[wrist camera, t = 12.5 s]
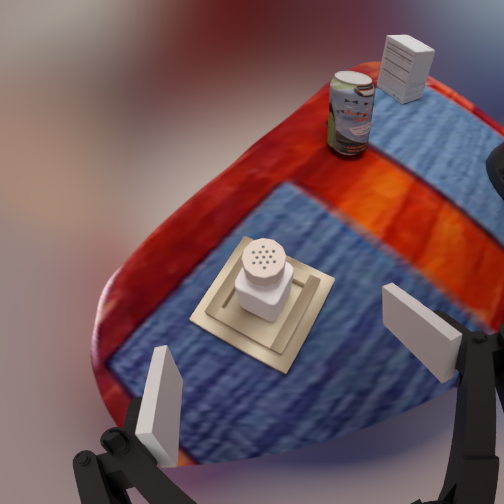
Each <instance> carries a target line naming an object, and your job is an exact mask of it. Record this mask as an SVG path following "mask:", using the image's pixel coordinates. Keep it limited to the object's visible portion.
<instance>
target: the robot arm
mask: <svg viewBox="0 0 504 504" xmlns="http://www.w3.org/2000/svg"><path fill="white" fill-rule="evenodd" d="M486 167H487V171H488V174H489V177H490V179H491V181H492V183H493V185H494V186H495V188H496V189H497V191H498V192H499V194H500V195H501V196H502V198H503V199H504V142H503V143H501V144H500V145H499V146H497V147H496V148H495V149H493V150H492V152H491V153H490V155H489V157H488V158H487V161H486ZM382 295H383V324H384V325H385V326H386V327H387V328H388V329H389V330H390V331H391V332H392V333H393V334H394V335H395V336H396V337H397V338H398V339H399V340H400V341H401V342H402V343H403V344H404V345H405V346H406V347H407V348H408V349H409V350H410V351H411V352H412V353H413V354H414V355H415V356H416V357H417V358H418V359H419V360H420V361H421V362H422V363H423V364H424V365H425V366H426V367H427V368H428V369H429V370H430V371H431V372H432V374H433V375H434V376H435V377H436V378H437V379H438V380H439V381H440V382H441V383H444V382H446V381H447V380H449V379H451V378H452V377H453V375H454V371H455V368H456V369H457V370H458V371H459V376H458V379H457V383H456V386H455V387H457V386H458V390H457V403H456V415H455V424H454V431H453V438H452V445H451V451H450V457H449V462H448V467H447V472H446V476H445V480H444V485H443V488H442V491H441V493H440V495H439V498H438V500H437V501H429V502H424V503H422V502H421V500H420V499H419V500H417V501H415V502H413V503H411V504H494V501H495V494H496V488H497V480H498V472H499V458H498V457H497V456H495V443H496V442H495V441H496V396H495V395H496V394H495V387H496V390H497V393H498V396H499V399H500V402H501V405H502V408H503V412H504V323H503V324H501V325H500V327H499V331H498V333H495V334H492V335H487V334H486V333H484V332H481V331H475V332H471V331H469V330H468V329H467V328H465V327H464V326H462V325H461V324H460V323H458V322H456V320H454V319H453V318H451V317H450V316H449V315H447V314H446V313H444V312H441V311H438V310H436V311H434V312H432V311H431V310H429V309H428V308H427V307H425V306H424V305H423V304H421V303H420V302H419V301H417V300H416V299H414V298H413V297H412V296H410V295H409V294H407V293H406V292H405V291H403V290H402V289H400V288H399V287H398V286H396V285H395V284H393V283H390V284H388V285H385V286H382ZM182 385H183V379H182V377H181V375H180V373H179V371H178V369H177V366H176V364H175V362H174V360H173V358H172V355H171V353H170V351H169V349H168V346H167V345H165V346H160V347H155V349H154V353H153V357H152V361H151V365H150V369H149V373H148V377H147V382H146V386H145V390H144V395H143V397H137V398H133V400H132V401H131V403H130V404H129V406H128V410H127V414H126V417H125V419H126V420H125V421H124V425H123V428H120V427H114V428H110V429H108V430H107V431H105V432H104V433H103V435H102V436H101V440H100V442H101V445H102V446H103V447H104V449H105V450H106V451H107V453H103V454H100V455H95V454H94V453H93V452H91V451H88V450H85V451H81V452H79V453H78V454H77V455H76V456H75V457H74V459H73V469H74V474H75V479H76V483H77V488H78V492H79V496H80V499H81V504H132V503H131V501H130V498H129V496H128V494H127V491H126V489H128V488H132V487H136V489H137V490H138V491H139V492H140V493H141V495H142V496H143V497H144V498H145V499H146V500H147V501H148V502H149V503H150V504H197V503H196V502H194V501H193V500H192V499H191V498H190V497H189V496H188V495H186V494H185V493H184V492H183V491H182V490H181V489H180V488H179V487H178V486H176V485H175V484H174V483H173V482H172V481H171V480H170V479H169V478H168V477H167V476H166V475H165V474H164V473H163V472H162V471H161V470H160V469H159V468H158V467H157V462H158V464H159V465H160V466H161V467H162V468H170V467H178V445H179V427H180V411H181V398H182Z"/></svg>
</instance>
